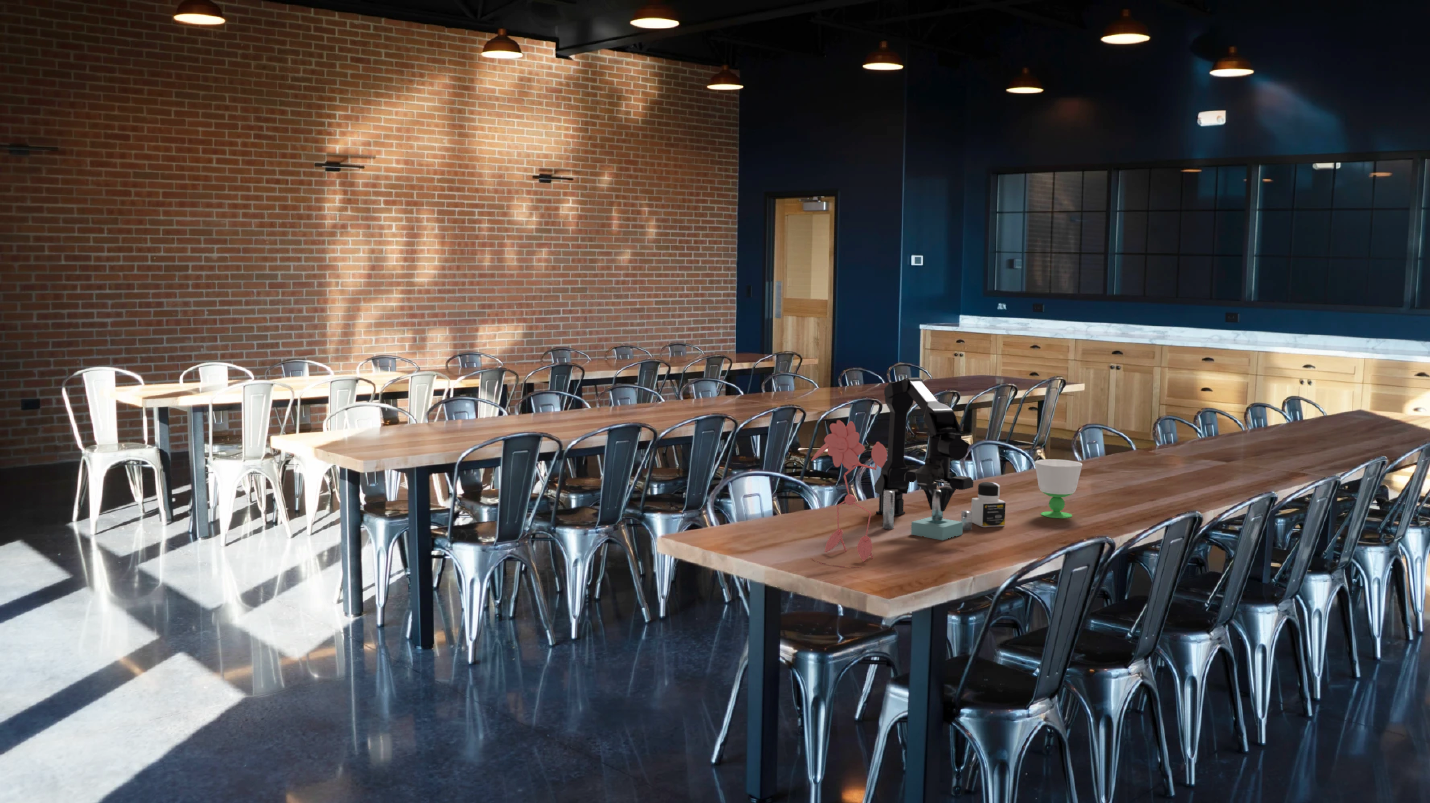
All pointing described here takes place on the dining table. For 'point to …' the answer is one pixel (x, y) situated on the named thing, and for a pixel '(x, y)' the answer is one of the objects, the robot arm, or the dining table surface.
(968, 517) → the pin short
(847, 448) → the figurine
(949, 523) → the socket block
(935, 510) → the pin medium
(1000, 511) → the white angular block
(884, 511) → the pin long
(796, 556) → the dining table surface
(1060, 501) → the cup
